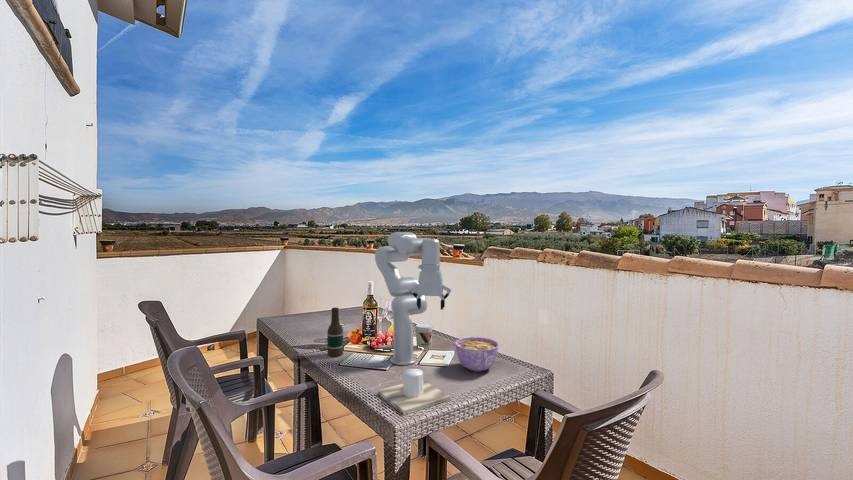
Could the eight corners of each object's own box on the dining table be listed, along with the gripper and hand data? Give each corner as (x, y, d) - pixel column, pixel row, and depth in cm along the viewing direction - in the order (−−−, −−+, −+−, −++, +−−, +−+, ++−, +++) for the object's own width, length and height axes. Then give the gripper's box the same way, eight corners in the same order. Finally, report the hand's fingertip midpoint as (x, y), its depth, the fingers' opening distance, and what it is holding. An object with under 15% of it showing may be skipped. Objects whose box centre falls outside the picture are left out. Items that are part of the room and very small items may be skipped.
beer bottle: (346, 354, 195) (346, 307, 194) (335, 358, 188) (334, 310, 187) (335, 351, 199) (335, 305, 198) (324, 355, 192) (323, 308, 191)
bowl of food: (498, 378, 163) (498, 351, 163) (452, 374, 167) (452, 348, 167) (499, 362, 183) (499, 338, 183) (457, 359, 187) (457, 336, 187)
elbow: (401, 396, 142) (401, 375, 142) (408, 384, 153) (408, 364, 153) (420, 398, 141) (420, 376, 141) (426, 386, 152) (426, 366, 151)
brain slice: (361, 346, 208) (361, 341, 208) (387, 341, 218) (387, 335, 218) (379, 356, 193) (379, 350, 192) (407, 349, 203) (407, 343, 203)
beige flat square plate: (377, 394, 148) (377, 376, 148) (420, 382, 159) (420, 365, 159) (404, 415, 131) (404, 395, 131) (450, 400, 143) (450, 381, 142)
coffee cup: (419, 351, 200) (419, 328, 199) (412, 346, 208) (412, 324, 208) (435, 348, 203) (435, 326, 203) (428, 343, 212) (428, 322, 211)
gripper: (408, 268, 158) (408, 309, 159) (449, 269, 155) (449, 311, 156) (412, 267, 166) (412, 306, 166) (452, 267, 162) (452, 307, 163)
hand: (430, 308), depth 161 cm, fingers open, 9 cm apart
